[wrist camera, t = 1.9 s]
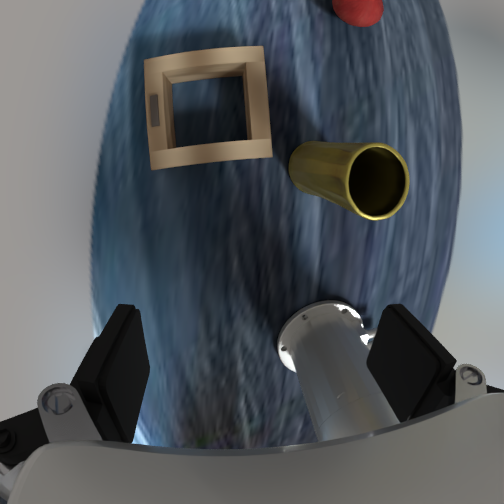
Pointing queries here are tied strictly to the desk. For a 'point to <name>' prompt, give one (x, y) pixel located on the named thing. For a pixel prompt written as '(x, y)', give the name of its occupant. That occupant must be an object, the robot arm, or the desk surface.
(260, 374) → the desk surface
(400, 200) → the vase
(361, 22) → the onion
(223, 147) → the wooden box
